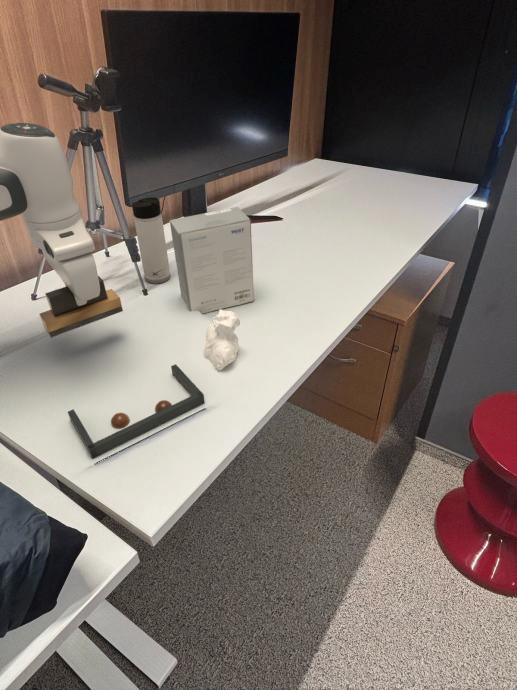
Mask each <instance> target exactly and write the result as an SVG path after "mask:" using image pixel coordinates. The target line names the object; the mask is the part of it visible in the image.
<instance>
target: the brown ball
mask: <svg viewBox="0 0 517 690" xmlns="http://www.w3.org/2000/svg"><path fill="white" fill-rule="evenodd" d="M172 405H173V404H172V403H171V402H170V401H168V400H163V399H162V400H160V401H158V402H157V403H156V404H155V406H154V412H155V413H157V412H159V411H161V410H163V409H166V408H168V407H170V406H172Z"/></svg>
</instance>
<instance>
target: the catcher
mask: <svg viewBox="0 0 517 690" xmlns="http://www.w3.org/2000/svg"><path fill="white" fill-rule="evenodd" d="M170 368H171V373H172V374H171V375H172V376H173V377H174V378H175V380H177V382H178V383H179V384H180V386H182V387H183V389H184V390H185V391H186V392H187V393H188V394H189V396H188V397H187V398H184V399H183V400H180V401H178V402H175V403H174V404H172V406H170V407H168V408H166V409H163V410H161V411H159V412H157V413H156V412H155V413H153V414H151V415H149V416H147V417H145V418H143V419H141V420H139V421H136V422H135V423H132V424H130V425H129V426H128V425H127V426H126V427H124V428H121V429H119V430H118V431H116V432H114V433H112V434H110V435H108V436H105V437H103V438H101V439H99V440H97V441H95V442H94V441H93V440H92V438H91V436H90V435H89V434H88V431H87V429H86V428H85V426H84V425H83V423H82V421H81V419H80V418H79V416H78V414H77V413H76V411H75V410H74V409H70V410H69V411H67V415H68V418H69V420H70V423H71V424H72V426H73V427H74V429H75V431H76V432H77V434H78V436H79V438H80V440H81V441H82V443H83V445H84V446H85V448H86V450H87V453H88V454H89V456H90V458H91V459H92V460H93V459H95V458H98V457H99V456H102V455H103V454H106V453H108V452H110V451H112V450H113V449H116V448H118V447H120V446H122V445H124V444H126V443H128V442H130V441H131V440H134V439H136V438H138V437H140V436H142V435H144V434H146V433H148V432H150V431H152V430H154V429H156V428H158V427H160V426H162V425H164V424H166V423H168V422H170V421H173V420H174V419H176V418H179V417H180V416H182V415H184V414H187V413H189V412H191V411H192V410H195V409H196V408H198V407H200V406H202V405H205V401H206V400H205V395H204V393H203V392H202V391H201V390H200V388H198V387H197V386H196V384H194V382H193V381H192V380H191V379H190V378H189V377H188V376H187V374H186V373H185V372H184V371H183V370H182V369H181V368H180V367H179V366H178V365H177V363H176V364H172V365H171V366H170ZM204 410H206V407H204V408H202V409H199V410H198V411H195V412H194V413H192V414H190V415H188V416H186V417H184V418H182V419H180V420H178V421H176V422H174V423H172V424H170V425H168V426H165V427H164V428H162V429H160V430H158V431H156V432H154V433H152V434H150V435H148V436H146V437H144V438H143V439H140V440H137V441H136V442H134V443H133V444H130V445H129V446H126V447H125V448H123V449H120V450H119V451H115V452H114V453H112V454H110V455H108V456H106V457H104V458H102V459H100V460H99V461H97V462H94V464H95V463H97V464H99V463H101V462H103V461H105V460H108V459H109V458H111V457H113V456H115V455H117V454H119V453H121V452H123V451H125V450H127V449H129V448H131V447H133V446H135V445H137V444H139V443H141V442H143V441H144V440H146V439H148V438H151V437H152V436H154V435H156V434H159V433H160V432H163V431H165V430H167V429H168V428H170V427H172V426H175V425H176V424H179V423H180V422H183V421H185V420H186V419H188V418H190V417H193V416H195V415H196V414H198V413H200V412H203V411H204ZM118 452H119V453H118ZM110 456H111V457H110ZM108 457H109V458H108ZM104 459H105V460H104ZM102 460H103V461H102ZM100 461H101V462H100ZM98 462H99V463H98ZM94 464H93V465H94ZM95 465H96V464H95Z"/></svg>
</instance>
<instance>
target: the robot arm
mask: <svg viewBox="0 0 517 690" xmlns="http://www.w3.org/2000/svg"><path fill="white" fill-rule="evenodd" d="M20 215H21V216H22V218H23V221H24V224H25V227H26V230H27V232H28V236H29V239H30V243H31V244H32V246H33V247H35V248H37V249H40V250H41V251H42V254H43V257H44V259H45V261H46V262H48V264H49V266H50V267H51V268H52V269H53V271H55V273H56V274H57V275H58V277H59V278H60V279H61V280H62V281H63V284H64V285H65V286H64V287H66V286H68V288H69V289H70V290H71V291H72V293H73V294H74V295H73V297H74V300H75V302H76V304H77V305H78V306H81V305H84V304H86V303H87V300H90V299H93V298H95V297H98V296H99V294H100V284H99V279H98V276H99V275H98V270H97V269H98V268H97V265H96V261H95V257H94V255H93V252H95V251H96V247H95V242H94V240H93V238H92V236H91V234H90V233H89V231H88V229H87V227H86V224H85V221H84V217H83V215H82V211H81V207H80V204H79V202H78V201H77V199H76V196H75V193H74V181H73V177H72V173H71V169H70V166H69V163H68V159H67V157H66V153H65V151H64V149H63V146H62V144H61V141H60V140H59V138H58V137H57V135H56V134H55V132H53V131H51V130H50V129H49V128H48V127H45V126H42V125H40V124H36V123H30V122H15V123H8V124H4V125H2V126H1V127H0V222H1V221H4V220H8V219H12V218H14V217H17V216H20Z"/></svg>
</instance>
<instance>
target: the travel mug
mask: <svg viewBox="0 0 517 690" xmlns="http://www.w3.org/2000/svg"><path fill="white" fill-rule="evenodd" d="M131 209H132V213H133V220H134V226H135V231H136V232H135V233H136V237H137V242H138V248H139V253H140V258H141V264H142V269H143V275H144V276H143V277H144V279H145V281H146V282H147V283H149V284H155V285H157V284H159V285H160V284H162V283H165V282H167V281H169V280H170V278H171V271H170V262H169V256H168V249H167V243H166V235H165V229H164V228H165V227H164V222H163V215H162V210H161V204H160V199H159V198H158V197H144V198H141V199H138V200H137V201H135V202H132V204H131Z"/></svg>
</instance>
